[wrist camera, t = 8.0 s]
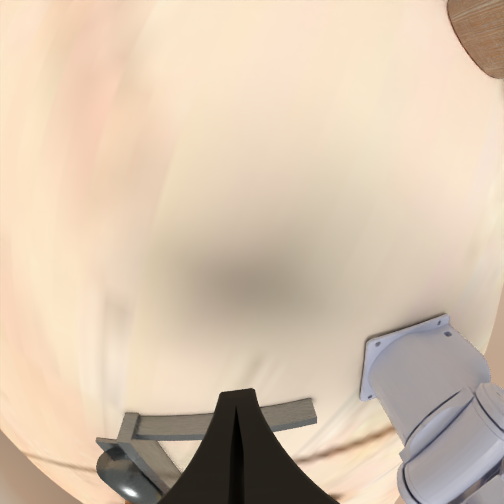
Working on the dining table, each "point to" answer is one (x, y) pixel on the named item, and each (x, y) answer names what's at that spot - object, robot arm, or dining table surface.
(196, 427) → the frame
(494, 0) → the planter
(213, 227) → the dining table surface
